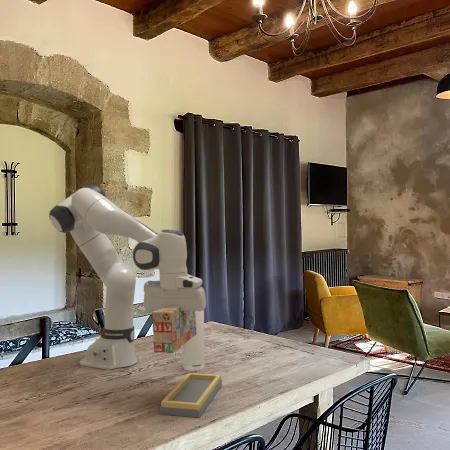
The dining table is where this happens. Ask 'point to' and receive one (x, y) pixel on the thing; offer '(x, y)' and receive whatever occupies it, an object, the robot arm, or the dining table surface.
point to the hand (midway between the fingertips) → (175, 324)
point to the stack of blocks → (172, 329)
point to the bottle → (195, 346)
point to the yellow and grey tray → (191, 395)
